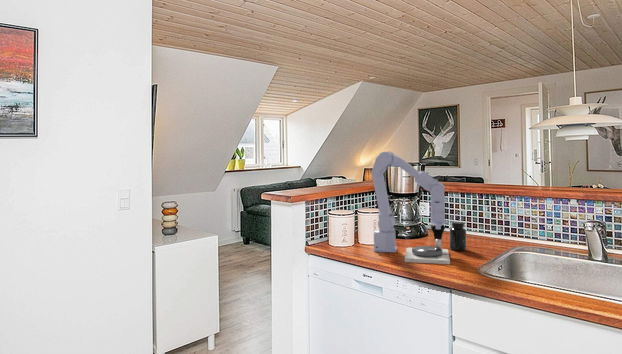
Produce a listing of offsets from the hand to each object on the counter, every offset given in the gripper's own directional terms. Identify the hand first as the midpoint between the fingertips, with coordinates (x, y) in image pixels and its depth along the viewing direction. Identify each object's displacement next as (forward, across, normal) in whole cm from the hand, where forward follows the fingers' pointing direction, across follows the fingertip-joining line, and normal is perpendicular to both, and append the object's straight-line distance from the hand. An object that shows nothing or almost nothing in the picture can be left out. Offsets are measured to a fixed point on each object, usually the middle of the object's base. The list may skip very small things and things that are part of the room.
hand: (438, 242), depth 161 cm
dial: (+3, -6, +5) cm, 8 cm away
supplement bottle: (+5, +9, -8) cm, 13 cm away
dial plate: (+5, -6, +4) cm, 9 cm away
